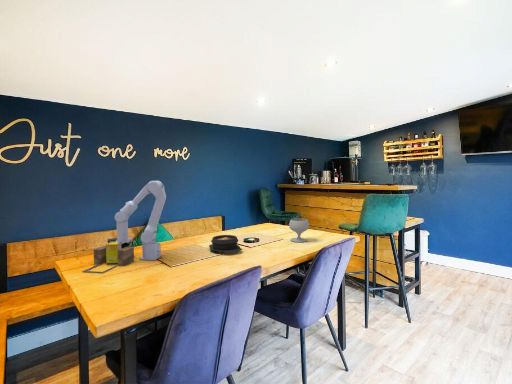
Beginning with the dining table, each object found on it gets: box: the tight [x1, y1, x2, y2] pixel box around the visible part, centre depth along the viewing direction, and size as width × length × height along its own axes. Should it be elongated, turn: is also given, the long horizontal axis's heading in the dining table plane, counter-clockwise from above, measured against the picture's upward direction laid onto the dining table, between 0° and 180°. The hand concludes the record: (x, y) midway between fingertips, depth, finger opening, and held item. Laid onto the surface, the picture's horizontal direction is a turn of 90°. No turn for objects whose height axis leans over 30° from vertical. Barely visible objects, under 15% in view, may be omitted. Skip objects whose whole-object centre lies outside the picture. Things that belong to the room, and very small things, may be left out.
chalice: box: [288, 218, 310, 243], centre depth 201 cm, size 14×14×15 cm
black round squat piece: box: [208, 234, 242, 254], centre depth 176 cm, size 25×19×8 cm
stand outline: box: [81, 264, 119, 274], centre depth 142 cm, size 11×11×1 cm
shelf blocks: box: [93, 245, 135, 267], centre depth 152 cm, size 18×8×8 cm, turn 80°
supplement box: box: [105, 242, 122, 266], centre depth 152 cm, size 6×6×11 cm
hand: (123, 256), depth 160 cm, fingers closed
